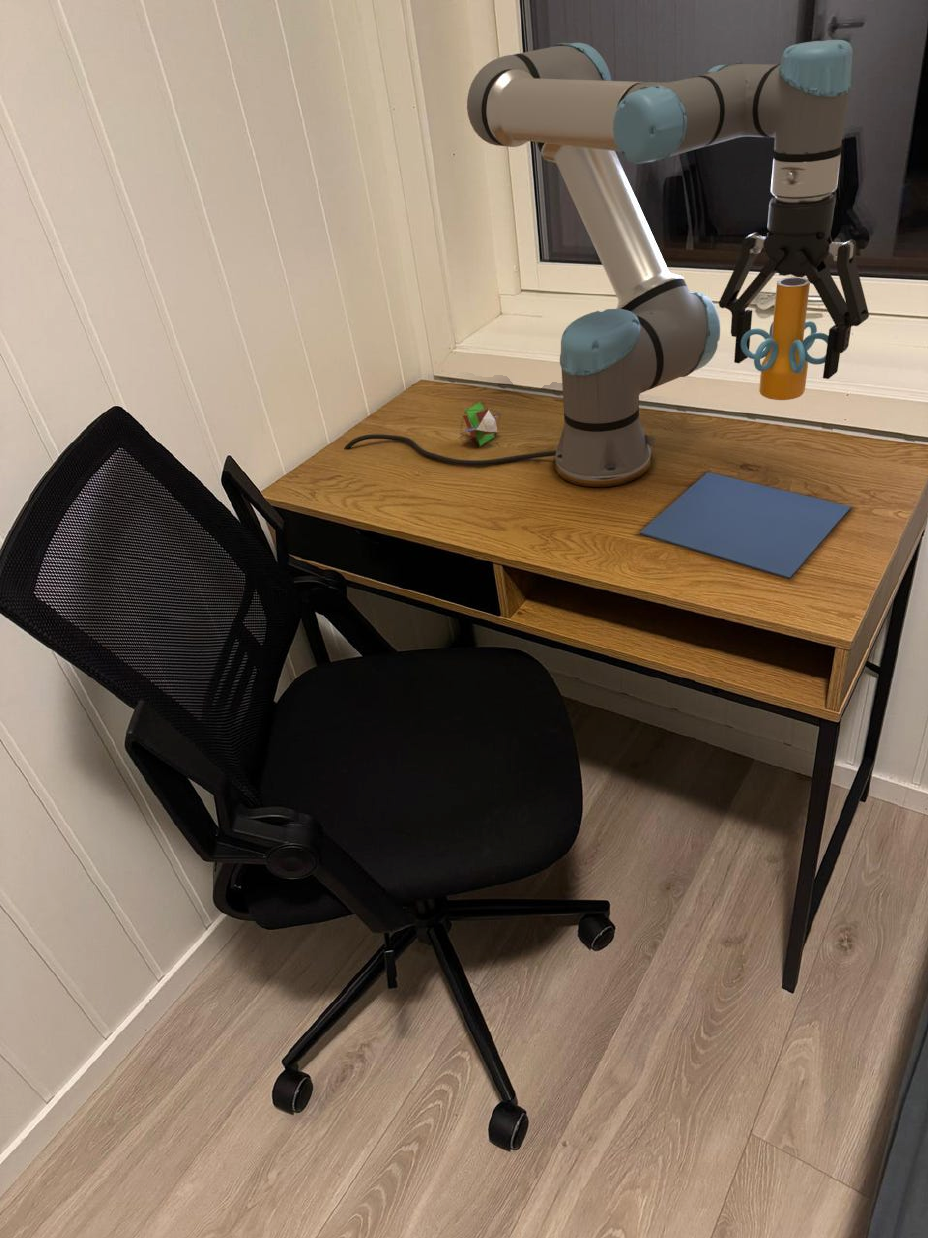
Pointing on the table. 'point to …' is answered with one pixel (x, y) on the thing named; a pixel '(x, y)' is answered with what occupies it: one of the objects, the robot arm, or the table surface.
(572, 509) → the table surface
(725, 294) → the robot arm
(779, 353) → the cylinder
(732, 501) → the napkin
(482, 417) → the geometric puzzle
